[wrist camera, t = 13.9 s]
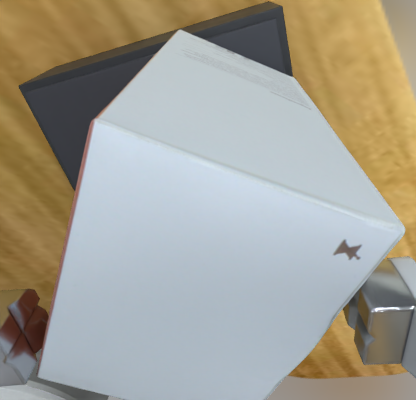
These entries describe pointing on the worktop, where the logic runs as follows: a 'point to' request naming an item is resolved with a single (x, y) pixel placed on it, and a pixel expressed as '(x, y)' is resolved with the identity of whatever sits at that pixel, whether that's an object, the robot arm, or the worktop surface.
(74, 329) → the small box
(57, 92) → the dark gray box
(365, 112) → the worktop surface
